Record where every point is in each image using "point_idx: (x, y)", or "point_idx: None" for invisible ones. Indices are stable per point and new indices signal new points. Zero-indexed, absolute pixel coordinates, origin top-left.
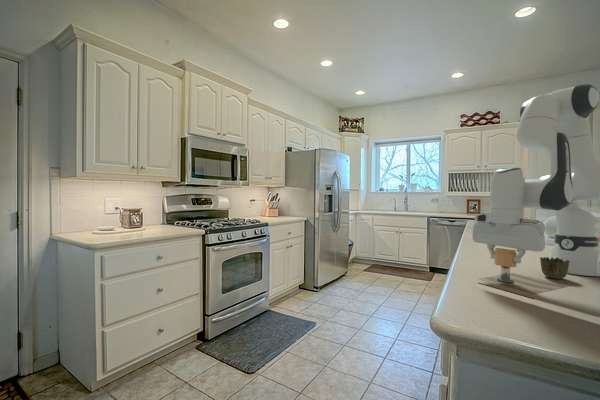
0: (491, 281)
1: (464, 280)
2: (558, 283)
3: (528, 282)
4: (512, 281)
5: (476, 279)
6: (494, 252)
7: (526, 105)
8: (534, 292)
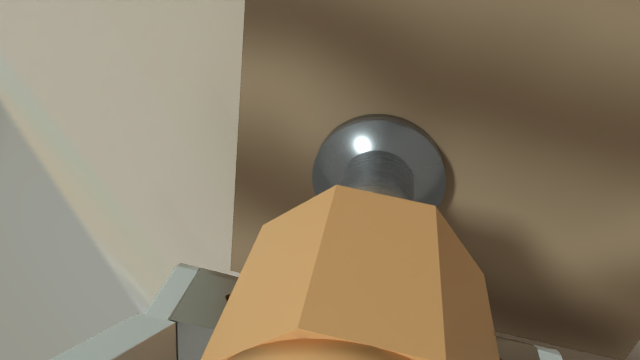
0: None
1: (155, 242)
2: None
3: (556, 40)
4: (442, 196)
5: (167, 147)
6: (168, 349)
7: None
8: (625, 330)
